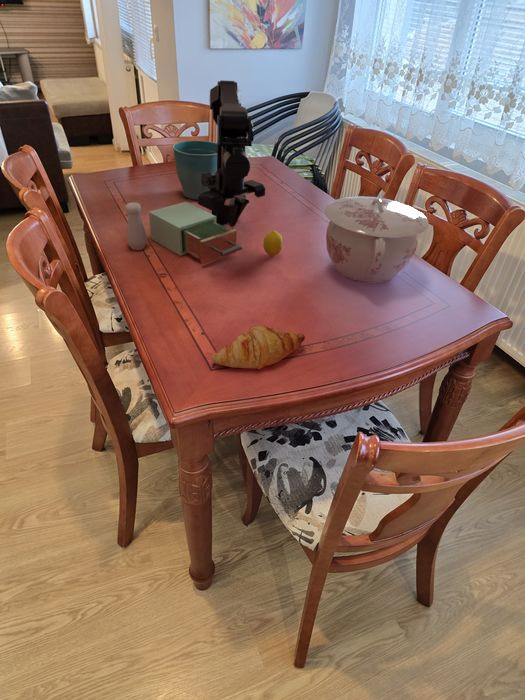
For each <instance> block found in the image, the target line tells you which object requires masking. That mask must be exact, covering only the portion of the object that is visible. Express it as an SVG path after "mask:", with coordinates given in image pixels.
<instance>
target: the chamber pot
mask: <svg viewBox="0 0 525 700" xmlns="http://www.w3.org/2000/svg"><path fill="white" fill-rule="evenodd" d="M323 212H324V214H325V217H326V218H327V219H328V220H329V223H328V224H327V227H326V233H325V243H326V244H325V245H326V252H327V254H328V256H329V258H330V260H331V263H332V266H333V267H334V268H335V269H336V271H338V272H339V273H340V274H341V275H342V276H345V277H347V278H348V279H351V280H353V281H357V282H362V283H374V284H375V283H376V284H377V283H382V282H387V281H389V280H391V279H393V278H395V277H397V275H398V274H399V273H401V272H403V270H404V269H405V268H406V267H408V265H409V264H410V262H411V260H412V259H413V257H414V255H415V252H416V250H417V247H418V242H419V235H420V234H423V233H424V232H425V231H426V230H427V229H428V228H429V219H428V218H427V217H426V216H425V215H424V213H423V212H422V211H420V210H418V209H416V208H415V207H413V206H410V205H408V204H406V203H403V202H399V201H395V200H392V199H388V198H384V197H377V196H364V195H363V196H362V195H359V196H358V195H355V196H346V197H341V198H337V199H334V200H332V201H330V202H329V203H327V204H326V205H325V207H324V209H323Z"/></svg>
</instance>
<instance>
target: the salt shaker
mask: <svg viewBox="0 0 525 700" xmlns="http://www.w3.org/2000/svg"><path fill="white" fill-rule="evenodd" d="M125 212H126V213H127V214H128V215H127V229H126V230H127V231H126V242H127V244H128V246H129V247H130V248H131V250H133V251H140V250H141V251H142V250H144V249H145V247H146V246H147V243H148V236H147V233H146V229H145V226H144V223H143V219H142V215H141V213H142V205H141V204H140V203H139V202H136V201H135V202H134V201H133V202H128V203H127V204H125Z"/></svg>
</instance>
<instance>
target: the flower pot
mask: <svg viewBox="0 0 525 700" xmlns="http://www.w3.org/2000/svg"><path fill="white" fill-rule="evenodd" d="M172 150H173V157H174V165H175V171H176V175H177V178H178V180H179V183H180V185H181V188H182V194H183V196H184V197H186V198H189V199H190V200H197V201H198V195H199V194H200V193H203V192H207V191H210V189H208V186H203V185H202V181H201V177H202V174H203V173H208V172H210V173H211V175H214V174H215V173H216V171H217V142H214V141H208V140H200V139H199V140H196V139H195V140H192V139H190V140H182V141H178V142H175V143H174V144H173V145H172Z"/></svg>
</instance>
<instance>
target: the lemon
mask: <svg viewBox="0 0 525 700" xmlns="http://www.w3.org/2000/svg"><path fill="white" fill-rule="evenodd" d="M283 245H284V244H283V237H282V235H281V233H279V232H278V231H276V230H274V229H273V230H271V231H269V232H267V233H266V234H265V236H264V237H263V250H264V252H265V253H266V255H269V256H270V257H274V256H277V255H278V254H280V253H281V251H282V249H283Z"/></svg>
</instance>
